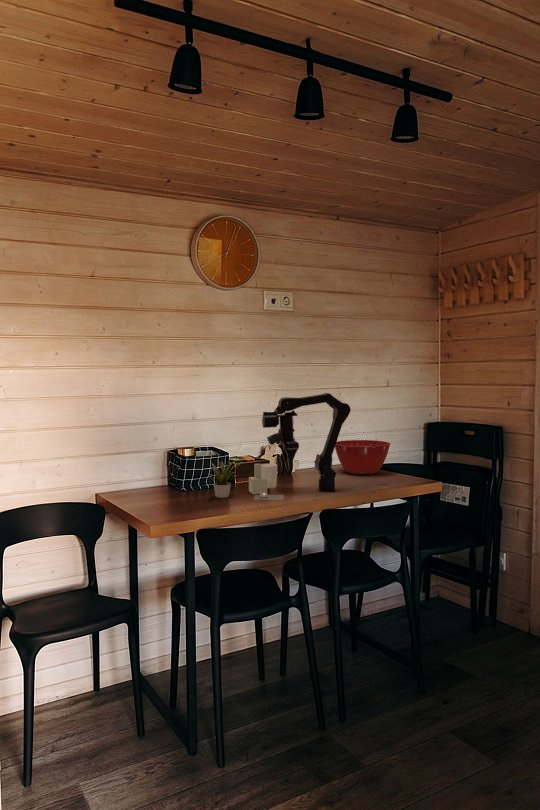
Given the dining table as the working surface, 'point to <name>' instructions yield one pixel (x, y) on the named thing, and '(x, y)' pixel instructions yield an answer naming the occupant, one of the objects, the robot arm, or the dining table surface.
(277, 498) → the slate mat
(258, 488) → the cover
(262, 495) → the tea light
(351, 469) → the mixing bowl
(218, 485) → the house plant
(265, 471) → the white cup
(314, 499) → the dining table surface
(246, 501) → the dining table surface
